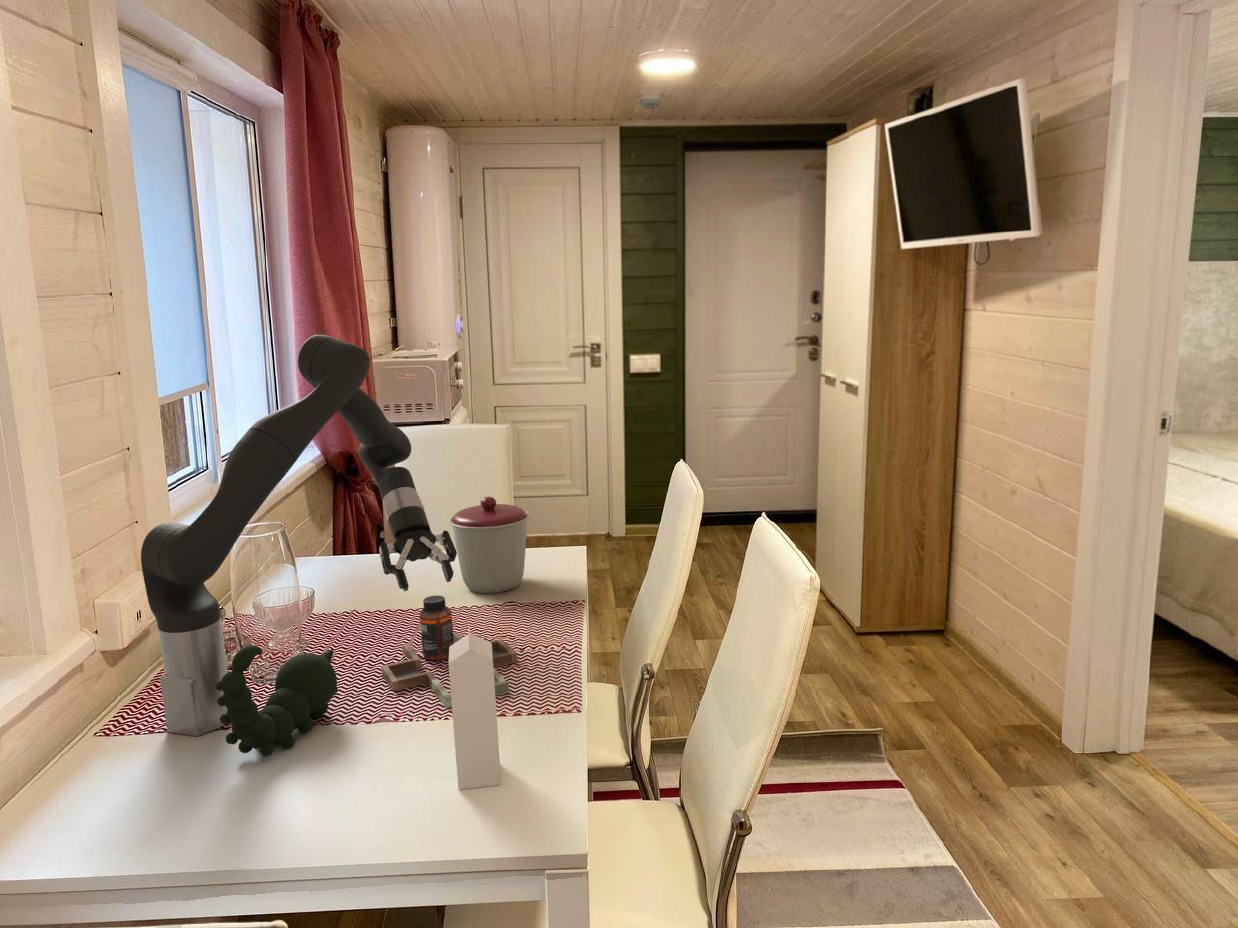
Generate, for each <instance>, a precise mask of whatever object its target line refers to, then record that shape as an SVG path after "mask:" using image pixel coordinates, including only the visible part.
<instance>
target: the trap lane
mask: <svg viewBox="0 0 1238 928" xmlns="http://www.w3.org/2000/svg"><path fill="white" fill-rule="evenodd" d="M453 637H454V643H456V642H457V641H459V640H460V639H462V638H463V637H464V636H462V635H461V633H460V632H458V631H456V632H453ZM489 642H491V643H492V655H493V669H494V684H495V697H497V696H499V695H504V694H508V693H509V692H510V690H509V681H507V680H506V678H504V677H503V676H502V674H500V673H499V672H498V671H497V669H495V668H499V667H503V666H507V665H510V664H511V665H512V664H515V663H518V653H517V652H516V651H515V650H514V649H513V648H512V647H511V646H510V645H509V644H508V643H507V642H505V641H504V640H503V639H502V638H499V639H494V640H490V641H489ZM401 648H402V654H403V653H404V654H405V655H406V656H405V655H404V654H403V655H404V656H405V657H407V658H408V659H409V660H408V659H407V658H406V660H405V659H404V660H401V661H397V662H392V663H388V664H383V665H380V668H381V676H382V678H383V679H384V678H385V679H384V680H385V682H386V681H387V682H386V684H387V685H388V684H389V685H388V686H389V688H390V687H391V688H390V689H391V690H393V691H395V692H397V690H399V691H402V690H401V689H403V690H406V688H407V689H410V688H409V687H411V688H414V687H413V686H415V687H418V686H417V685H420V686H423V684H424V685H428V687H429V688H430V689H431V691H432V692H433V693H434V694H435V695H436V697H437V698H438V699H439V700H440V702H441V703H442V705H444V707H445V708H446V709H448V708H452V702H451V693H450V692H448V690H447V689H446V688H445V687H444V685H442V683H441V682H440V681H439V679H438V678H437V677H436V676H435V675H434V673H433V672H432V671H431V670H428V671H425V672H424V671H423V672H420V671H419V670H420V668H421V669H422V660H421V658H420V656H419V655H418V654H417V652H415V650H414V649H413V648H412V647H411V646H410V644H409V643H408V642H405V643H402V644H401ZM393 691H392V692H393Z"/></svg>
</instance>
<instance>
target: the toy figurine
mask: <svg viewBox="0 0 1238 928" xmlns="http://www.w3.org/2000/svg"><path fill="white" fill-rule="evenodd" d="M263 653H264V652H263V650H262V648H261V647H259V646H258V645H246V646H244V647H243V648H241V649H240V650H238V651H237V653H236V654H234V657H233V658H232V661H231V668H232V670H231V671H228V673H226V674H225V675H224V676H223V677H222V679H221V681H219V682H217V683H216V685H215V686H216V689H217V690H219V691H223V692H224V694H223V696H220V697H218V699H217V703H218V705H219V706H226V707H227V714H223V715H222V716H221V717H220V722H221V723H223V724H225V725H227V724H229V723H230V724H231V732H228V734H227V735H226V737H225V742H226V744H228V745H236V744H237V743H238V741H240V742H239V743H238V747H237V749H238V750H239V752H241V754H248V753H250V752H252V751H253V749H254V750H259V753H260V754H261V755H262V756H263V757H269V756H271V755H272V754H273V753H274V752H275V747H277V746H281V747H282V749H283V748H284V749H291V748H293V747H294V746H295V743H296V739H295V737H294V735H293V733H294V731H295V730H298V731H299V732H300V733H301V734H306V733H309V732H311V731H312V730H313V729H314V725H315V724H314V720H313V719H312V718H311V717H314V718H319V717H321V716H324V715H325V714H326V713H327V712H328V710H329V703H330V702H331V700H332V699H333V697H335V695H336V694H337V693H338V691H339V690H338V687H337V686H338V679H337V678H338V677H337V672H336V671H335V668H334V666H333V665H332V663H331V662H332V660H333V655H334V650H333V649H329V650H327V651H325V652H323V653H321V654H317V653H314V652H313V653H311V652H309V653H308V652H306V653H304V652H303V653H300V654H297V655H294V656H292V657H290V658H289V659H288V660H286V662H284V664H283V665H282V666H281V667H280V669H279V670H278V671H277V674H276V678H275V681H274V692H272V694H270V695H269V697H268V699H267V700H266V703H265V704H264V705H265V706H264V707H263V708H262V709H261V710H259V708H258V705H257V702H255V701H254V700H253V696H252V695H253V693H252V691H251V688H250V687H249V686H248V685H247V677H246V676H245V675H244V674H243V673H244V672H245V671H247V670H248V669H249V667H251V664H252V662H253V660H254V659H255V657H256V656H257V655H258V656H262V655H263Z"/></svg>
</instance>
